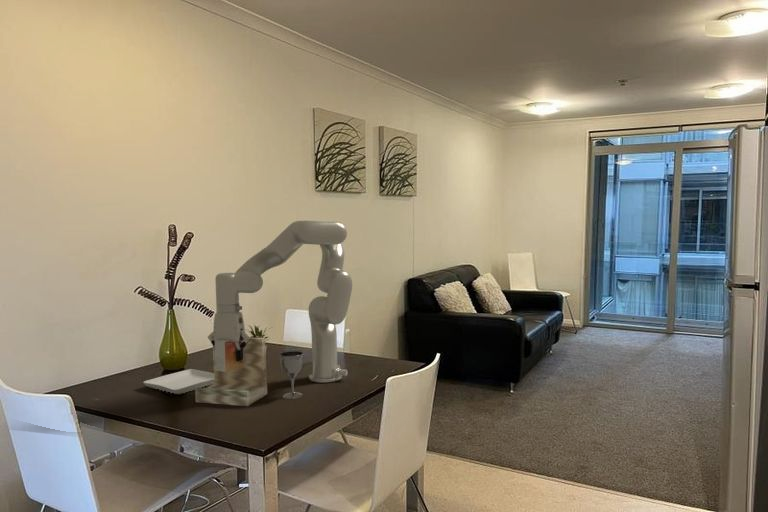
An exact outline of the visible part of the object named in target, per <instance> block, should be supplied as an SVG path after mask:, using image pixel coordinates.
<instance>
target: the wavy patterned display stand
mask: <svg viewBox="0 0 768 512" xmlns="http://www.w3.org/2000/svg"><path fill="white" fill-rule="evenodd" d="M249 337H250V338H251V339H250V341H249V342H248V343H247V345H246V346H245V347H244V348H243V355H244V368H240V369H236V370H232V371H228V372H222V371H217V370H216V365H215V348H214V346H213V345H212V361H213V363H212V364H213V373H214V384H212V385H209V386H206V387H203V388H201V387H197V388H195V390H194V392H195V393H194V394H195V403H200V404H201V403H203V404H214V405H215V404H216V405H228V406H239V407H249V406H250V405H252V404H254V403H256V401H259V400H260V399H262V398H264V397H265V396H266V395H268V381H267V380H268V379H267V378H268V377H267V358H266V357H267V355H266V354H267V351H266V352H265V344H266V342H265V341H266V339H265V338H264V337H263V338H253V337H251V336H249ZM243 341H244V340H243Z"/></svg>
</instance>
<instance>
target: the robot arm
mask: <svg viewBox="0 0 768 512" xmlns="http://www.w3.org/2000/svg"><path fill="white" fill-rule="evenodd" d="M347 234H348V231H347V228H346V226H345V224H343V223H341V222H339V221H317V220H316V221H315V220H296V221H293V222H292V223H290V224H289V225H288V226H287V227H286V228H285V229H284V230H283V231H282V232H281V233H279V235H277V236H276V237H275V238H274V239H273V240H272V241H271V242H270V243H269V244H267V246H266V247H264V248H262V249H261V250H260V251H258V252H257V253H256V254H254V255H253V256H251V257H250V258H248V259H247V260H246V261H245V262H244V263H243V264H242V265H241V266H240V267H239V268H238V269H237V270H236V271H235V272H221V273H218V274H216V276H215V300H216V301H215V302H216V303H215V307H216V312H215V313H214V319H213V331H212V332H211V333H210V334H209V335H208V336H207V338H208V340H209V342H210V343H211V345H212V347H213V346H214V348H215V340H230V341H231V342H234V343H235V345H236V347H237V350H236V361H237V362H239V361H241V360H243V348H244V347H245V346H246V345H247V343H248V342H249V341H250V339H251V338H250V337H251V336H250V335H248V333H247V332H246V328H245V320H244V317H243V313H242V312H241V311H242V310H243V306H242V305H240V296H239V295H240V294H255V293H257V292H258V291H260V290H261V289H262V288H263V285H264V279H263V277H262V275H263V274H264V273H265V272H267V271H269V270H270V269H273V268H276V267H278V266H281V265H283V264H284V263H286V262H287V261H288V260H289V259H290V258H291V257H292V256H293V255H294V254H295V253H296V252H297V251H298V250H299V249H300V248H301V247H302V246H303V245H317V246H319V247H320V249H321V254H322V255H321V262H320V268H319V271H318V272H319V273H318V275H317V280H316V282H317V283H316V284H317V288H318V289H319V290H320V291H321V292H323V293H324V294H327V295H326V296H324V295H319V296H316V297H314V298H312V300H311V301H310V302H309V306H308V317H309V321H310V330H311V354H312V355H311V357H312V373H310V374H309V375H308V379H309V381H311V382H313V383H320V384H321V383H331V382H333V383H334V382H336V381H338V380H339V381H340V380H341V379H342V377H345V376H348V370H347V369H345V368H341V365H340V364H338V345H337V341H338V338H337V336H338V335H337V334H338V333H337V327H336V325H340V324H341V323H342V322H343V321H344V320H345V319H346V317H347V314H348V311H349V305H350V300H351V295H352V290H353V280H352V277H351V275H350V274H349V273H348V272H347V271H345V270H343V269H344V262H345V249H344V247H343V243H344V241H345V240H346V238H347V236H348V235H347ZM241 339H242V340H244V341H243V342H242V340H241Z"/></svg>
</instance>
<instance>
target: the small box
mask: <svg viewBox="0 0 768 512" xmlns="http://www.w3.org/2000/svg"><path fill="white" fill-rule="evenodd" d="M241 340H242V339H241ZM242 342H243V340H242ZM236 350H237V347H236V345H235V343H234V342H231V341H230V340H215V365H216V370H217V371H222V372H228V371H232V370H236V369H240V368H244V355H243V360H241V361H239V362H237V361H236Z"/></svg>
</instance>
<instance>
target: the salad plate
mask: <svg viewBox="0 0 768 512" xmlns="http://www.w3.org/2000/svg"><path fill="white" fill-rule="evenodd" d="M142 383H143V384H144V385H145V386H147V387H149V388H152V389H156V390H157V389H159V390H158V391H161V390H162V391H161V392H164V391H166V392H165V393H168V392H170V393H169V394H172V393H174V394H173V395H183V394H186V392H187V393H190V392H193V391H195V388H197V387H201V388H202V387H203V388H206V387H209V386H211V385H213V384H214V372H209V371H204V370H199V369H194V368H189V369H184V370H181V371H177V372H173V373H169V374H164V375H161V376H158V377H154V378H151V379H146V380H145V381H143V382H142ZM205 386H206V387H205ZM189 391H190V392H189ZM182 393H183V394H182Z"/></svg>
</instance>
